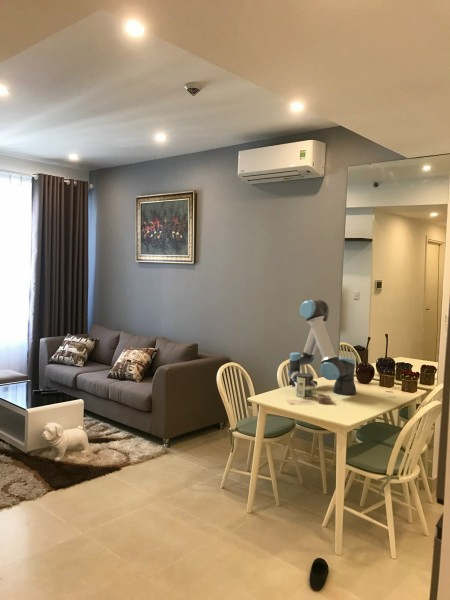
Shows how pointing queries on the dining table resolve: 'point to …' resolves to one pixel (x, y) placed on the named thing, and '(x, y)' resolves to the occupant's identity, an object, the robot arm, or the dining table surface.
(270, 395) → the dining table surface
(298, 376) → the coffee can
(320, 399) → the walnut block
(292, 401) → the letter
